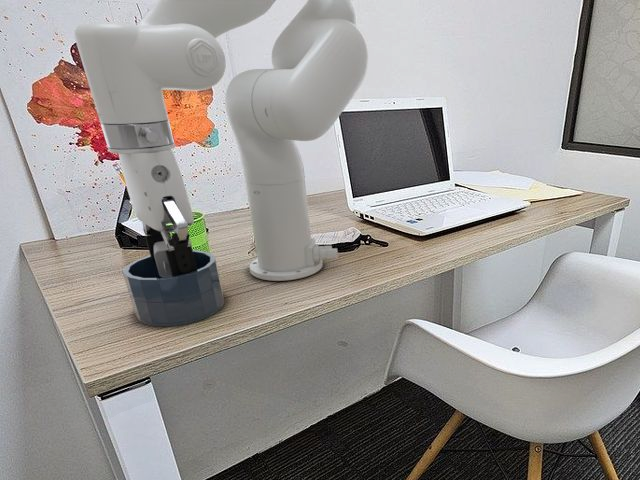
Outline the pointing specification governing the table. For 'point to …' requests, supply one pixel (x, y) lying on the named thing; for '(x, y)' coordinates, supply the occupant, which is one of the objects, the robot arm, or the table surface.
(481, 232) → the table surface
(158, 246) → the usb wall charger
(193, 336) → the table surface
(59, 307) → the table surface
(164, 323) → the pot
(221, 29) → the robot arm
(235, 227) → the table surface
